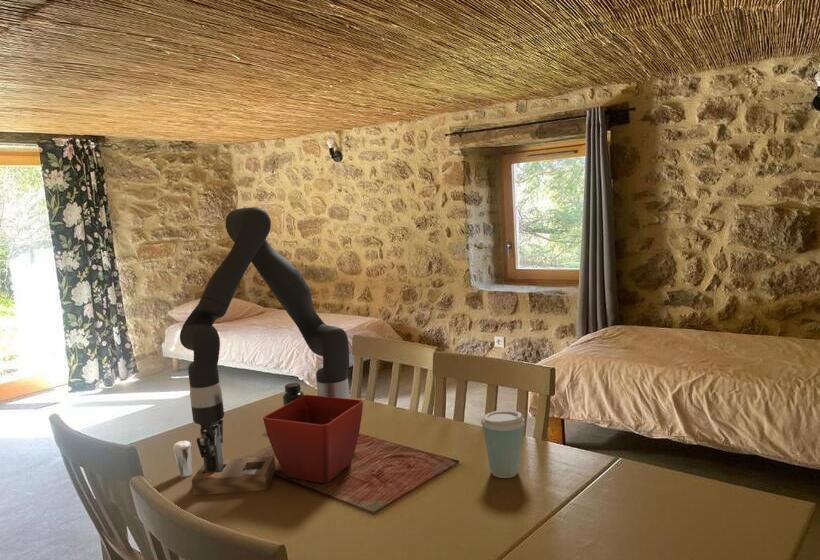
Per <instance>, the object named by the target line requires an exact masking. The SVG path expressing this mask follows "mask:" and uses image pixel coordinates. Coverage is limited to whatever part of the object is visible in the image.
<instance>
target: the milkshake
mask: <svg viewBox="0 0 820 560" xmlns="http://www.w3.org/2000/svg"><path fill="white" fill-rule="evenodd" d="M192 441H193V438H191V439H190V441H188V440H179V441H177V442H176V443H175V444H173V447H172V450H173V454H174V457H175V461H176V468H177V472H178V476H179V477H180V478H187V477H189V476H192V474H193V458H192V457H193V456H192Z"/></svg>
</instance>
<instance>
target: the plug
mask: <svg viewBox="0 0 820 560" xmlns="http://www.w3.org/2000/svg"><path fill="white" fill-rule="evenodd" d="M209 443H210V444H212V443H213V441H212V442H209ZM207 452H208V451H207ZM215 459H216V470H214V471H208V470H207V465H206V457H203V464H204V467H205V473H212V472H217V473H218V472H222V471H223V469H224V465H223V460H224V457H223V449H222V443H221V439H220V434H219V435H216V446H215Z"/></svg>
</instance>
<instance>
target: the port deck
mask: <svg viewBox="0 0 820 560" xmlns="http://www.w3.org/2000/svg"><path fill="white" fill-rule="evenodd" d="M223 465H224V469H223V471H222V472H218V473H217V472H212V473H205V467H204V463H203V464H202V465H201V467H200V468H199V469H198V471H197V472H196V473H195V475H193V477H192V479H191V487H192V495H193V496H201V495H215V494H229V493H241V492H252V491H253V492H255V491H257V492H258V491H266V490H268V488H269V485H270V484H271V481H272V479H273V476H274V474H275V472H276V469H277V468H276V462H275V455H269V456H268V455H267V456H266V455H265V456H254V457H253V456H252V457H241V458H240V457H239V458H228V459H227V458H226V459H224V458H223Z"/></svg>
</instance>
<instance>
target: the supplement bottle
mask: <svg viewBox="0 0 820 560" xmlns="http://www.w3.org/2000/svg"><path fill="white" fill-rule="evenodd" d="M301 390H302V388H301V383H300V382H291V383H286V384H285V385H284V392H285V393H283V395H282V403H283V406H285V405H286V404H288V403H290V402H292V401H294V400H296V399H298V398H299V397H301V396H304V395H305V393H304V392H303V391H301Z"/></svg>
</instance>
